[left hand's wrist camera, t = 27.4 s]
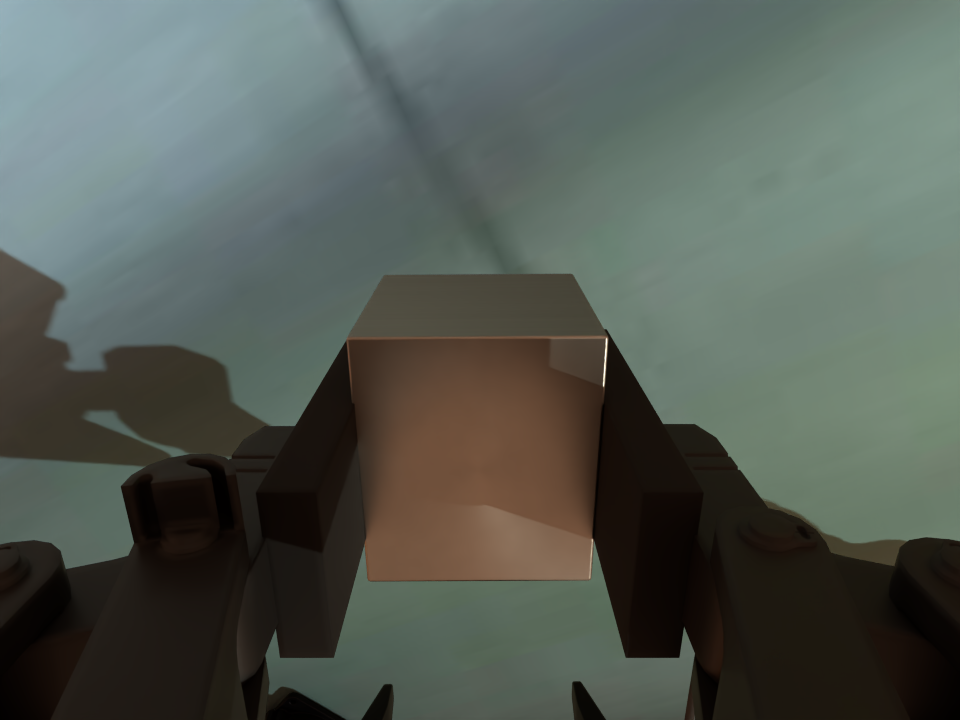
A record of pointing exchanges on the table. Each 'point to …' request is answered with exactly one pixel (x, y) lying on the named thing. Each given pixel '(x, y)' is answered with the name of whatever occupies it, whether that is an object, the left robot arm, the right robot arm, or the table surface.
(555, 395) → the brick
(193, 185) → the table surface
